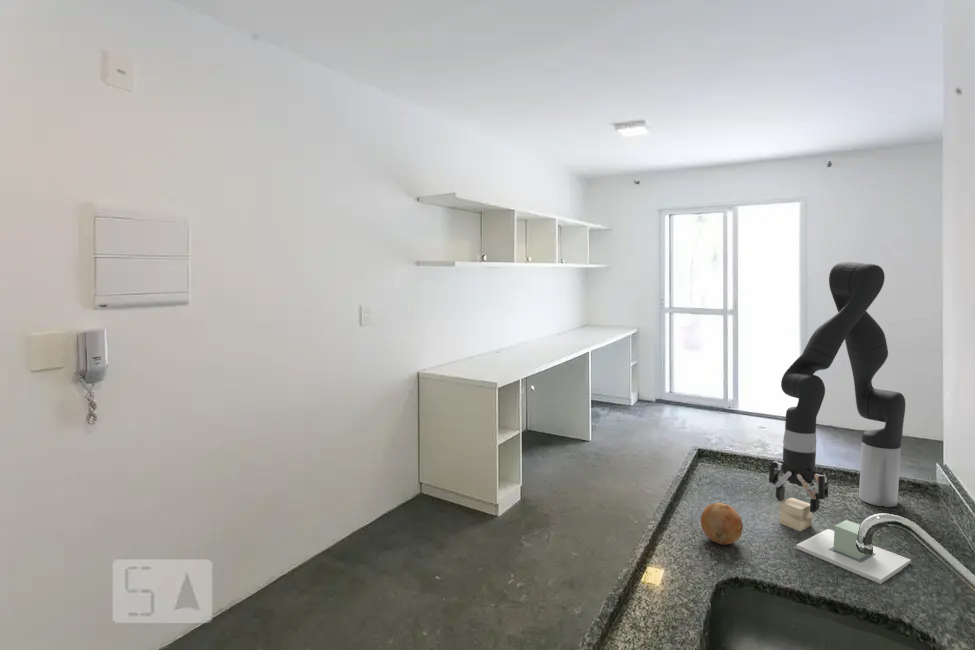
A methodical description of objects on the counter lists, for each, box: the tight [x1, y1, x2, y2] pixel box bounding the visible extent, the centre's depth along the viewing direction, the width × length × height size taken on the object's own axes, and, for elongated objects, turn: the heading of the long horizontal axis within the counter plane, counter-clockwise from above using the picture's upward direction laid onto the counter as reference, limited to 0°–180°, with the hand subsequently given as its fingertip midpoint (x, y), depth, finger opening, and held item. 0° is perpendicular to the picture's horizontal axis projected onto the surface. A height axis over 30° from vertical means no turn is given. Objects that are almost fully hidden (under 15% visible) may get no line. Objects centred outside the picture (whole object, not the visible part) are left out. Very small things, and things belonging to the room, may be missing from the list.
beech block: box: [779, 497, 813, 532], centre depth 143 cm, size 6×6×6 cm
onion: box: [700, 502, 744, 546], centre depth 134 cm, size 10×10×10 cm
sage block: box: [833, 519, 866, 560], centre depth 126 cm, size 6×6×6 cm
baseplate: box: [795, 528, 912, 585], centre depth 127 cm, size 15×18×1 cm
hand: (796, 505), depth 142 cm, fingers open, 8 cm apart
